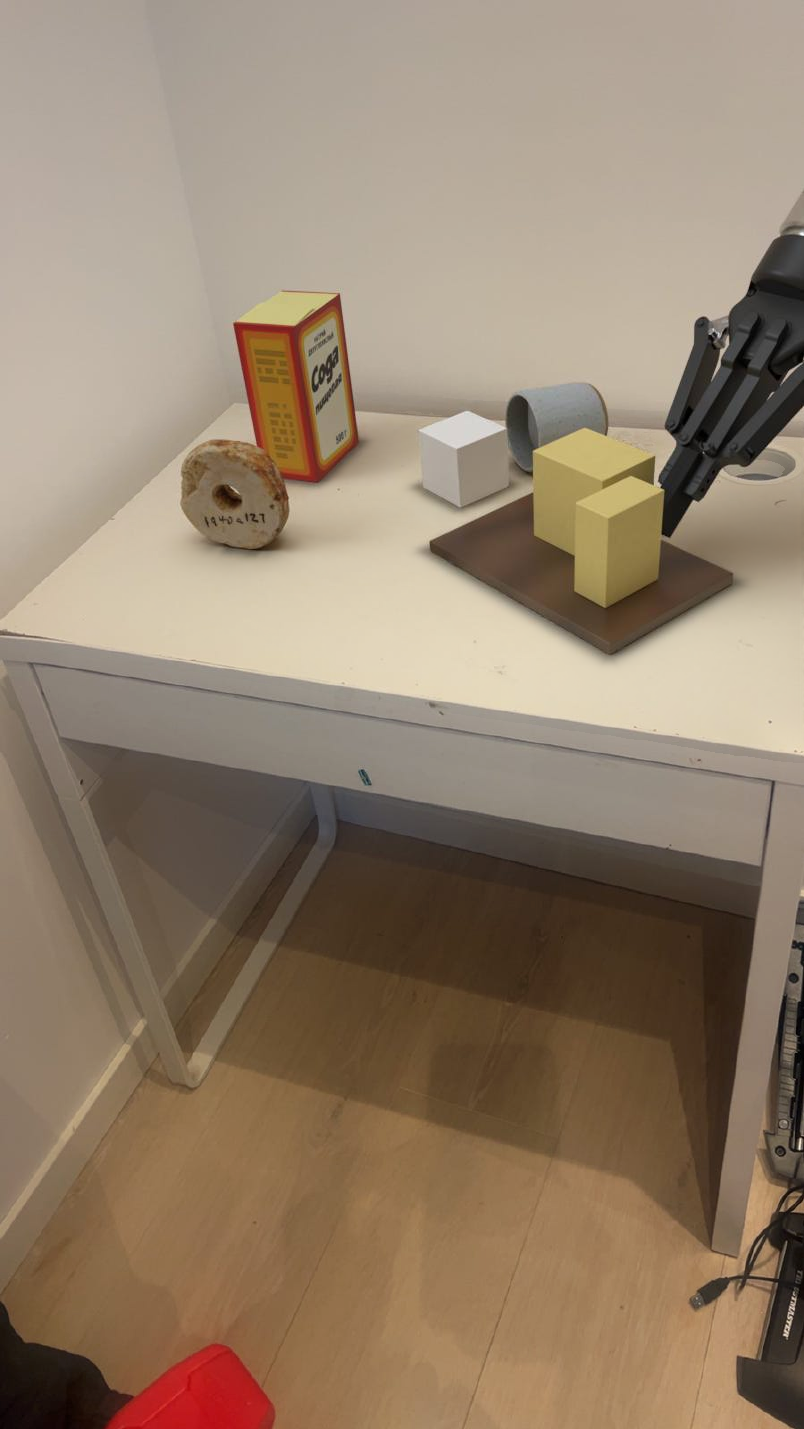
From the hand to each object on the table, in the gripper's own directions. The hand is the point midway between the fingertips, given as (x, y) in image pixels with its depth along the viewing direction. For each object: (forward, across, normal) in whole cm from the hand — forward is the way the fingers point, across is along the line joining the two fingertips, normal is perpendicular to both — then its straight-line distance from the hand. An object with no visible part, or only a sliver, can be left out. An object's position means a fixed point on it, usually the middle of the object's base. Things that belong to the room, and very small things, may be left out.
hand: (655, 528), depth 83 cm
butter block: (+3, +7, -2) cm, 8 cm away
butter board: (+6, +6, -1) cm, 8 cm away
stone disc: (+19, +31, +12) cm, 38 cm away
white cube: (+4, +24, -3) cm, 24 cm away
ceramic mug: (-3, +23, -10) cm, 25 cm away
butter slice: (+5, 0, 0) cm, 5 cm away
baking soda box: (+9, +41, +2) cm, 42 cm away
